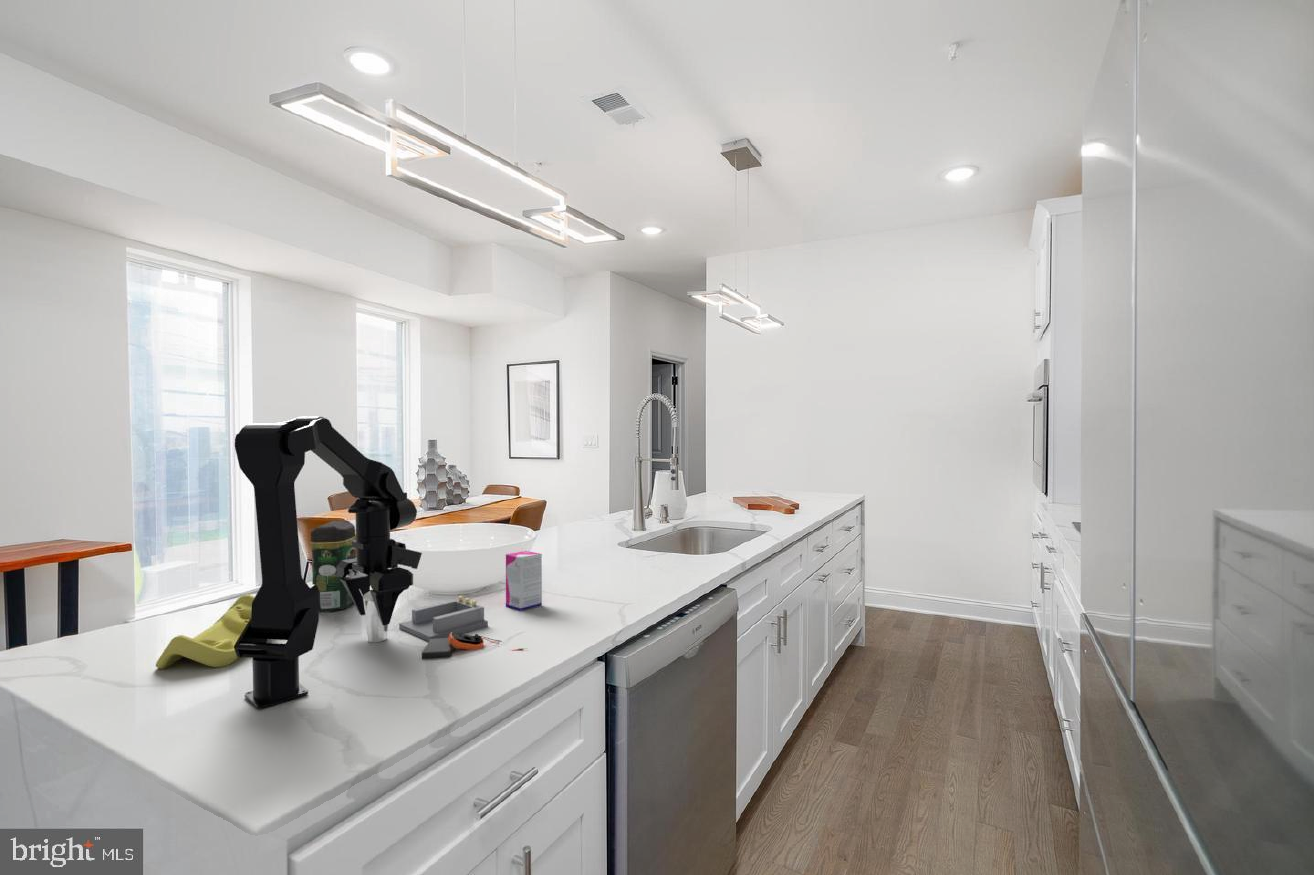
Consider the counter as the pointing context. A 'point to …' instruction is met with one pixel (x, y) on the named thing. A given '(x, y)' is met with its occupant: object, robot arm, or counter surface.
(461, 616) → the header socket
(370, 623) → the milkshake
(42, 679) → the counter surface
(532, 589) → the supplement box
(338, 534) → the coffee jar
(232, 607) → the plastic component
